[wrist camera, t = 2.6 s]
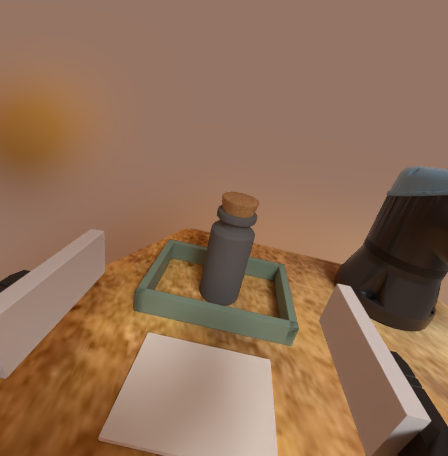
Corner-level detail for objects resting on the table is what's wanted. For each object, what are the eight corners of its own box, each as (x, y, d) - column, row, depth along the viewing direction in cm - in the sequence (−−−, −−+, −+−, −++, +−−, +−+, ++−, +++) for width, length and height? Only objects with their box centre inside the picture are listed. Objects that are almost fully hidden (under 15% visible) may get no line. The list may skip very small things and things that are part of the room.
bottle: (207, 275, 40) (225, 186, 34) (241, 287, 39) (267, 198, 33) (192, 296, 35) (211, 197, 29) (231, 311, 34) (259, 211, 27)
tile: (268, 362, 28) (270, 359, 28) (277, 481, 19) (279, 478, 19) (148, 335, 28) (148, 332, 28) (98, 440, 19) (98, 437, 19)
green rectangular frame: (279, 278, 43) (284, 264, 42) (291, 346, 30) (298, 328, 29) (168, 253, 43) (169, 238, 42) (133, 310, 31) (134, 291, 29)
